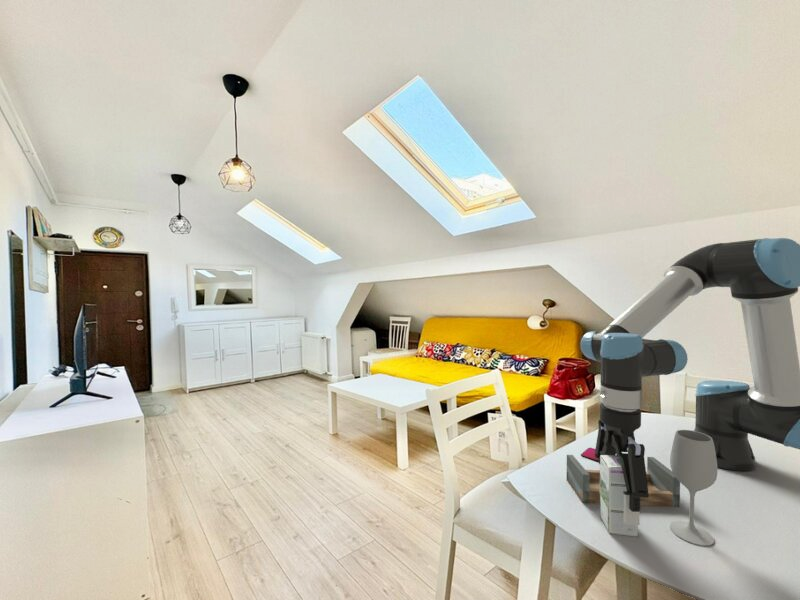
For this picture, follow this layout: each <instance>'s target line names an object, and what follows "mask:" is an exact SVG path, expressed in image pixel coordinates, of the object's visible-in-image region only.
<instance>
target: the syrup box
mask: <svg viewBox="0 0 800 600" xmlns="http://www.w3.org/2000/svg"><path fill="white" fill-rule="evenodd" d="M599 470H600V504H599V517H600V518H601V521H602V522H603V524H604V526H605V527H606V530H607V532H608V533H609V534H613V535H620V536H627V537H628V536H630V537H638V535H639V534H638V532H639V530H638V529H639V525H625V524H624V522H623V516H624V493H623V491H627V489H626V485H625V480H624V475H623V471H622V466H621V461H620V458H619V457H618V456H617V454H616V455H601V456H600V464H599Z"/></svg>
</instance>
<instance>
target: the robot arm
mask: <svg viewBox="0 0 800 600" xmlns="http://www.w3.org/2000/svg"><path fill="white" fill-rule="evenodd" d="M716 287H717V288H730V294H731V297H732V298H733V300H734V299H735V300H736V301H738V302H739V303H740V306H741V313H742V318H743V325H744V329H745V336H746V337H745V338H746V344H747V348H748V354H749V355H748V357H749V360H750V366H751V372H752V373H751V374H752V380H753V386H752V387H750V384H749V383H746V382H742V381H735V380H733V381H731V380H703V381H700V382H698V383H697V385H696V390H695V391H696V392H695V421H694V422H695V424H694V425H695V426H694V430H693V431H696V432H700V433H704V434H706V435H708V436H710V437H711V438H712V439H713V442H714V446H715V452H716V458H717V468H719V469H724V470H730V471H737V472H748V471H749V472H750V471H753V470H754V469H756V464H757V463H756V460H757V459H756V457H755V455H754V452H753V448H752V446H751V444H750V441H749V439H748V438H749V437H748V436H749V435H751V436H755V437H759V438H761V439H765V440H768V441H770V442H771V441H772V442H774V443H778V444H781V445H783V446H784V447H790V448H793V449H796V450H800V360H799V355H798V354H799V353H798V347H797V340H796V332H795V326H794V318H793V312H792V310H793V309H792V304H791V298H792V297H793V296H794V295H796V294H797V293H798V292H799V287H800V243H798V242H797V241H796V240H793V239H791V238H787V237H780V238H779V237H778V238H770V237H769V238H766V237H765V238H759V239H758V238H756V239H749V240H748V239H747V240H740V241H739V240H738V241H730V242H719V243H718V242H717V243H713V244H708V245H705V246H703V247H700V248H698V249H696V250H694V251H692V252H690V253H688V254H686V255H685V256H684V257H681V258H680V259H678V260H677V261H676V262H674V263H673V264H672V265H671V266H669V267H668V268H667V269H666V270H665V271H664V273H663V278H661V280H659V281H658V282H657V283H655V284H654V285H653V286H652V287H651V288H649V290H647V291H646V292H645V293H644V294H643V295H642V296H641V297H640V298H638V299H637V300H636V301H635V302H634V303H633V304H631V305H630V306H629V307H628V308H627V309H626V310H624V311H623V312H622V313H621V314H619V316H618V317H616V318H615V319H614V320H612V322H611V323H610V324H608V325H607V326H606V327H604V328H603V329H602V330H601V331H598V330H595V331H594V330H593V331H588V332H585V334H584V335H583V336H582V338H581V340H580V343H579V344H580V350H581V352H582V355H584V356H585V357H586V358H587V359H589V360H590V359H591V360H593V361H596V362H598V363H600V381H599V382H600V390H598V394H599V395H600V396H599V398H600V402H601V404H600V405H599V420H598V431H597V437H596V443H595V448H594V449H595V457H596V458H598V459H599V460H598V462H597V463H598V464H599V465H600V456H601V455H617V456H618V457H619V458H620V461H621V466H622V471H623V475H624V480H625V485H626V489H627V491H623V493H624V516H623V522H624V524H625V525H638V526H640V525H641V524H640V521H641V520H640V518H641V517H640V516H641V515H640V514H641V513H640V512H641V505H640V497H642V498H648V497H649V494H648V485H647V477H646V472H647V468H646V462H645V451H646V450H645V449H646V447H645V445H644V444H643V443H637V441H636V439H635V433H634V432H636V431H637V430H638V429H640V428H641V426H642V411H641V408H642V398H643V396H642V395H643V394H642V393H643V392H642V391H643V390H642V389H643V388H642V386H643V378H644V377H653V376H669V375H671V374H675V373H678V372H682V371H683V370H684V369H685V368H686V366H687V363H688V358H689V357H688V353H687V351H686V349H685V348H684V346H683V345H682V344H680V343H679V342H677V341H675V340H673V339H662V338H661V339H657V340H656V339H655V340H654V339H647V338H644V337H645V336H647V334H648V333H651V331H652V330H653V329H654V328H655V327H656V326H658V325H659V324H660V323H661V322H662V321H663V320H665V318H667V316H669V315H670V314H671V313H672V312H673V311H674V310H675V309H677V307H679V306H680V305H681V304H682V303H683V302H684V301H685V300H686V299H688V298H689V297H691V296H692V297H694V296H696V295H698V294H700V293H701V292H702V291H703V290H705V289H709V288H716ZM600 452H601V453H600Z"/></svg>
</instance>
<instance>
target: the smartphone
mask: <svg viewBox="0 0 800 600" xmlns="http://www.w3.org/2000/svg"><path fill="white" fill-rule="evenodd" d="M595 449H596V448H593V447H588V448H587V449H585V450H584V451H583V452H582V453H581V454H580V457H582V458H585V459H587V460H590V461H593V462H597V463H599V462H598V460H599V459H598V458H596V457H595ZM600 453H601V452H600Z"/></svg>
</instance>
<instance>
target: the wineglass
mask: <svg viewBox="0 0 800 600" xmlns="http://www.w3.org/2000/svg"><path fill="white" fill-rule="evenodd" d="M672 440H673V441H672V445H671V450H670V458H669V461H670V462H669V464H670V470H671V471H672V472H673V474H674V475H675V477H676V478H677V479H678V480H679V481H680V484H682V486H684V487H685V488H686V489H687V490H688V492H689V515H688V516H689V519H688V521H678V520H676V521H675V520H674V521H672V522H670V524H669V529H670V531H671V532H672V533H673V535H675V536H676V537H677V538H679V539H681V540H683V541H684V542H687V543H690V544H692V545H695V546H700V547H710V546H713V544H714V543H715V539H714V537H713V535H712V534H711V533H709V532H708V531H707V530H706V529H704V528H702V527H701V526H699V525H696V524H695V496H696V493H697V492H700V491H703V490H706V489H708V488H710V487H711V486H713V485H714V484H715V483H716V481H717V477H718V469H719V467H717V458H716V452H715V446H714V442H713V439H712V438H711V437H710V436H708V435H706V434H704V433H700V432H696V431H694V430H689V429H677V430H676V432H675V435H674V437H673V439H672Z"/></svg>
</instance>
